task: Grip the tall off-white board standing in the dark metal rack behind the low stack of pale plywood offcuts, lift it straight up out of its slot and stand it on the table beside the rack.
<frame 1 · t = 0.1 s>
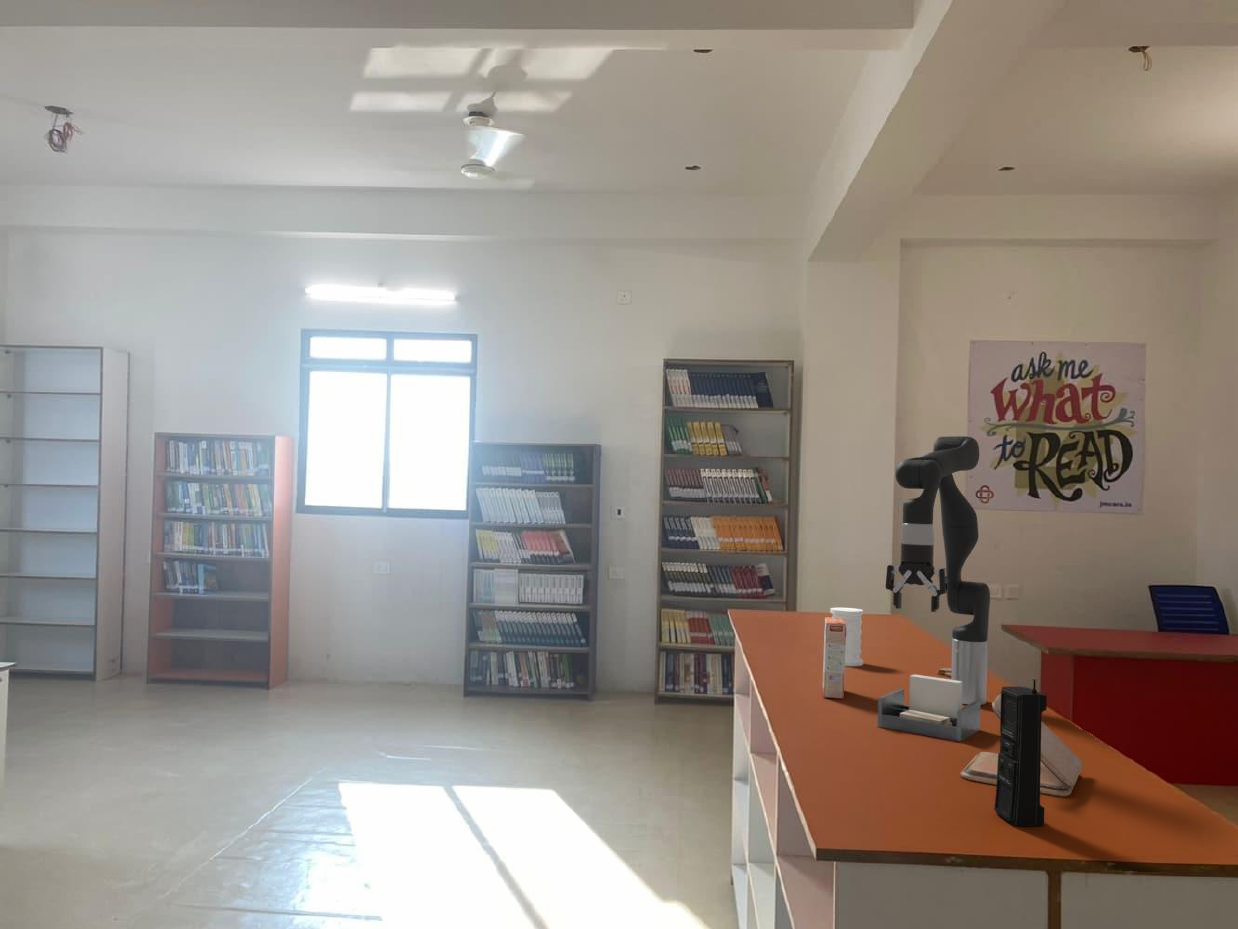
hand: (915, 610, 226), 29 cm above the counter, tool pointing down, fingers open, 8 cm apart
cracker box: (833, 694, 266), on the counter
portable radio: (1016, 820, 165), on the counter
case: (1021, 778, 191), on the counter
tall board: (934, 725, 233), resting in rack
rack: (934, 725, 233), on the counter
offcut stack: (925, 731, 227), resting in rack
decorative container: (845, 663, 317), on the counter
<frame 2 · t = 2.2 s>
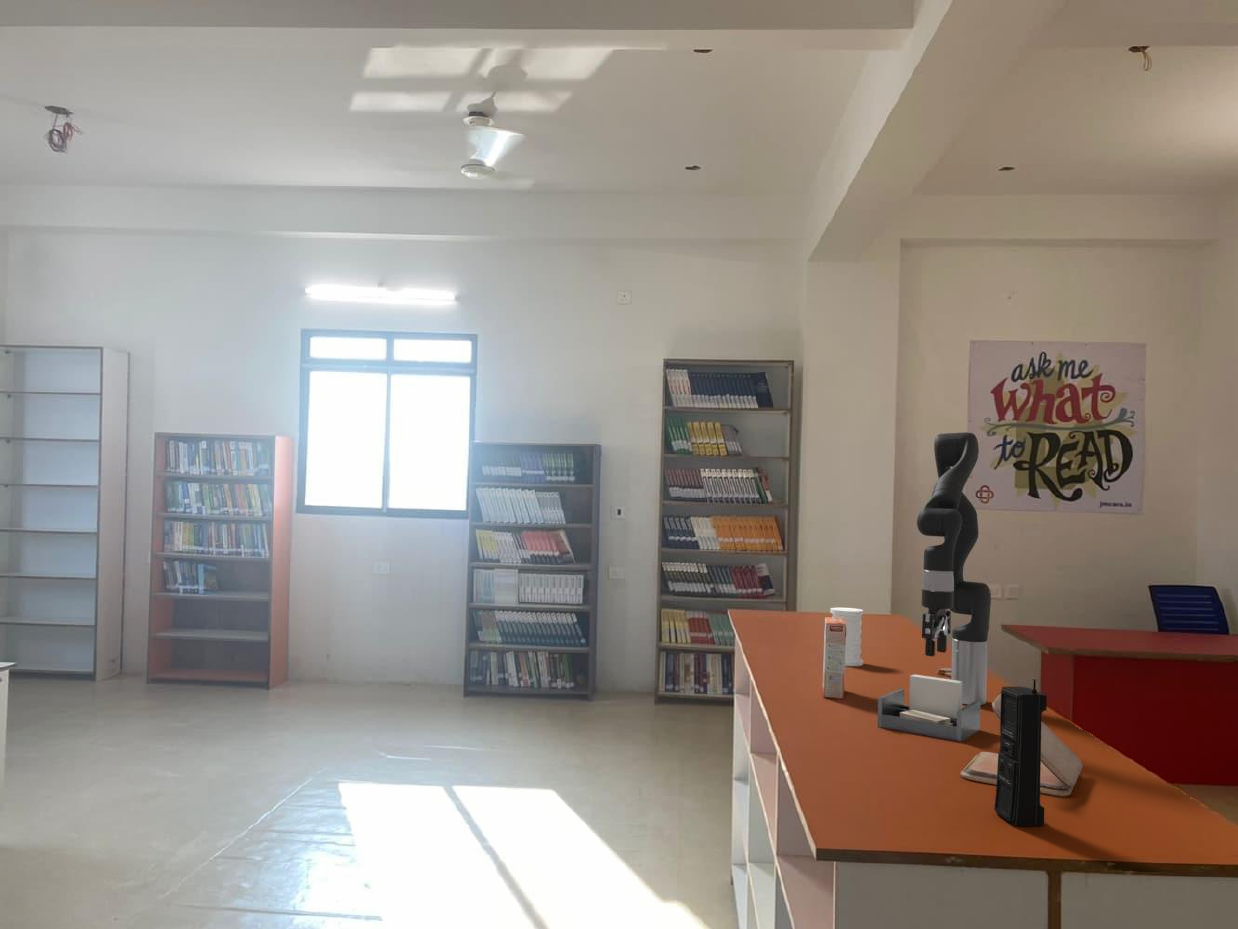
hand: (935, 654, 233), 17 cm above the counter, tool pointing down, fingers open, 8 cm apart
nothing on the counter moved.
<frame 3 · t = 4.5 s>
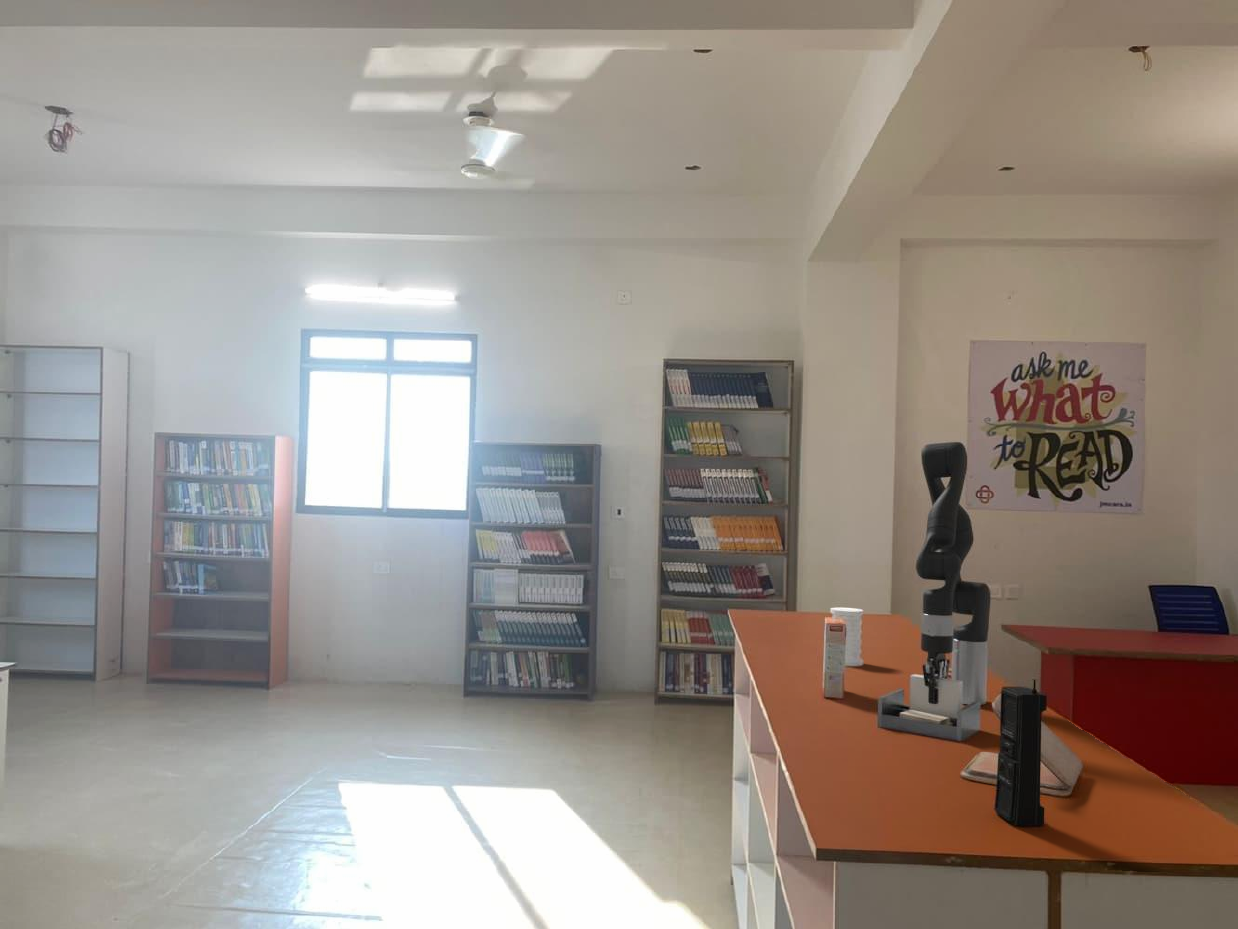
hand: (935, 702, 233), 6 cm above the counter, tool pointing down, fingers closed on tall board, 3 cm apart
tall board: (935, 725, 233), resting in rack, touching gripper
everything else where it was.
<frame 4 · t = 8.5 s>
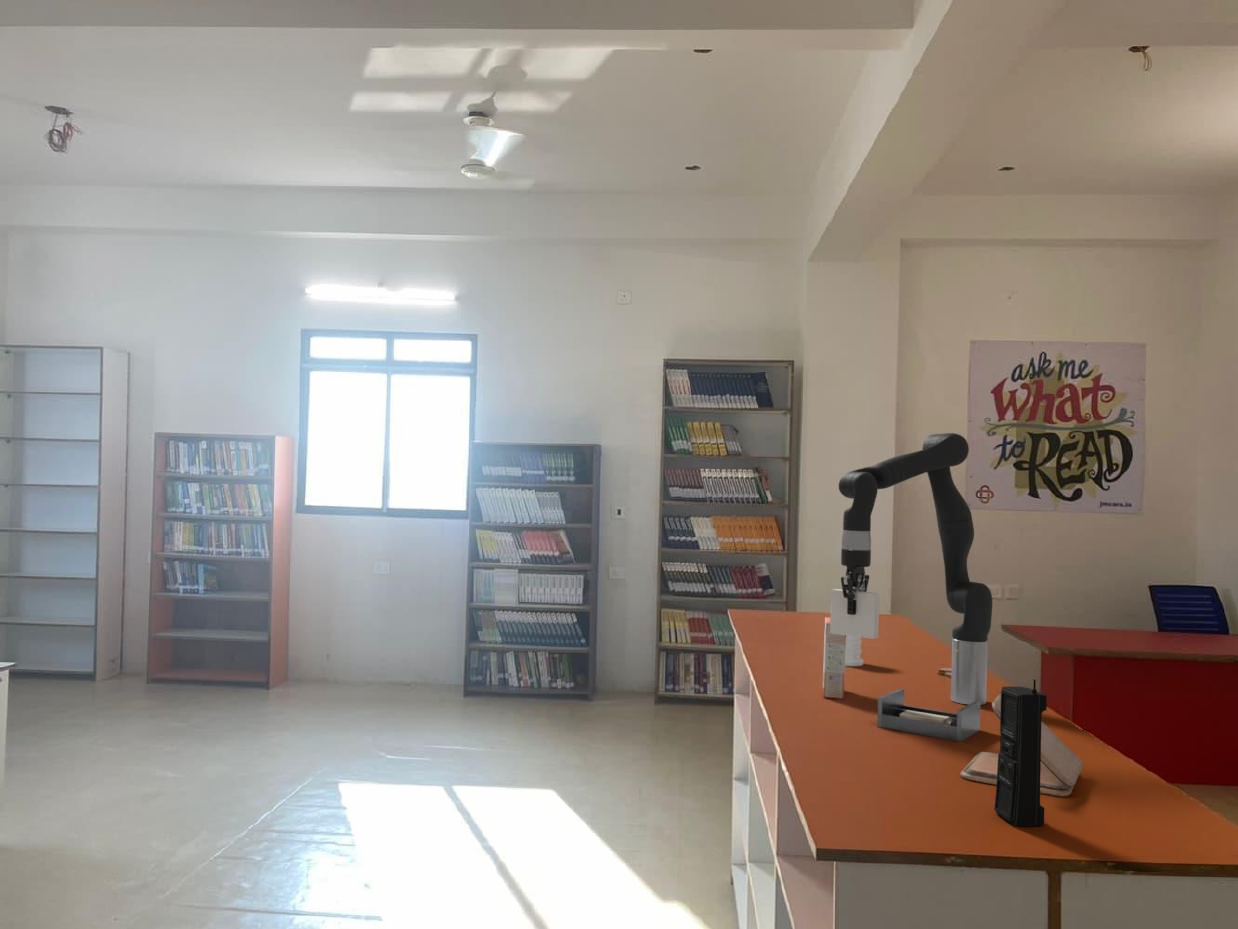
hand: (854, 613, 246), 25 cm above the counter, tool pointing down, fingers closed on tall board, 3 cm apart
tall board: (853, 635, 246), point 20 cm above the counter, touching gripper
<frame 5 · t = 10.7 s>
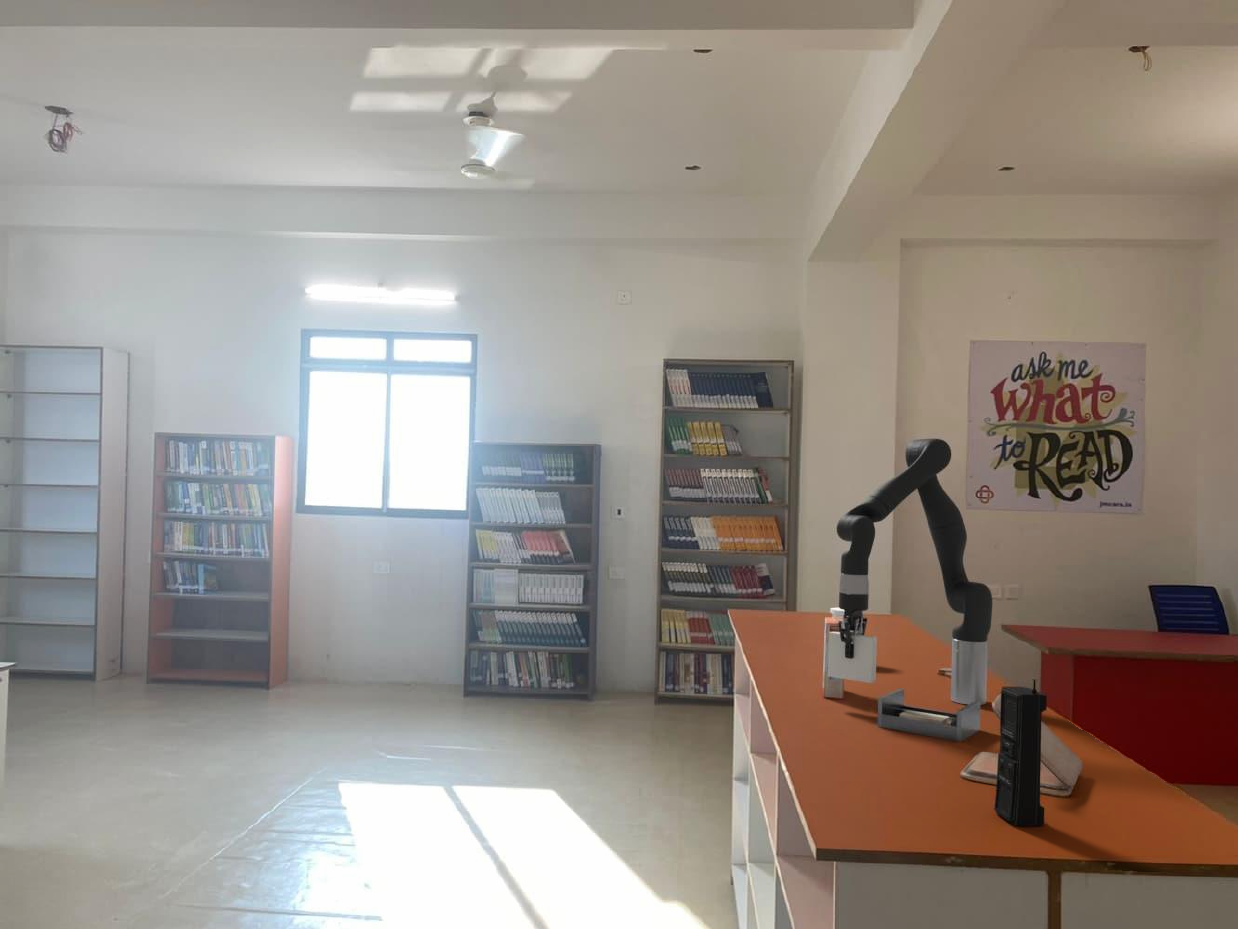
hand: (852, 657, 246), 14 cm above the counter, tool pointing down, fingers closed on tall board, 3 cm apart
tall board: (851, 678, 246), point 8 cm above the counter, touching gripper
everything else where it was.
when the fingers open (7 cm above the counter, at t = 12.8 s): tall board stays where it is, on the counter.
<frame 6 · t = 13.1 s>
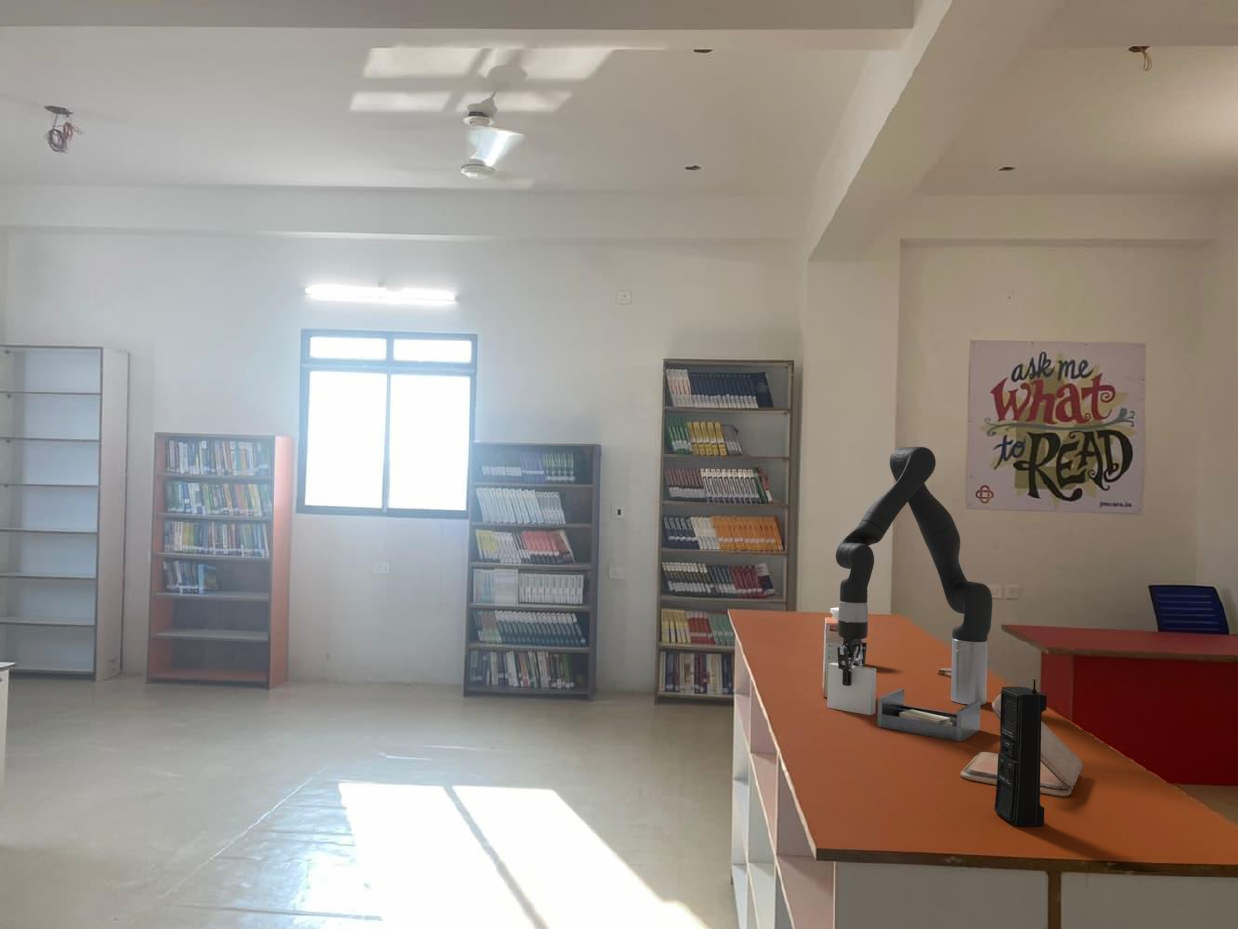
hand: (851, 683, 246), 7 cm above the counter, tool pointing down, fingers open, 5 cm apart
tall board: (850, 710, 246), on the counter
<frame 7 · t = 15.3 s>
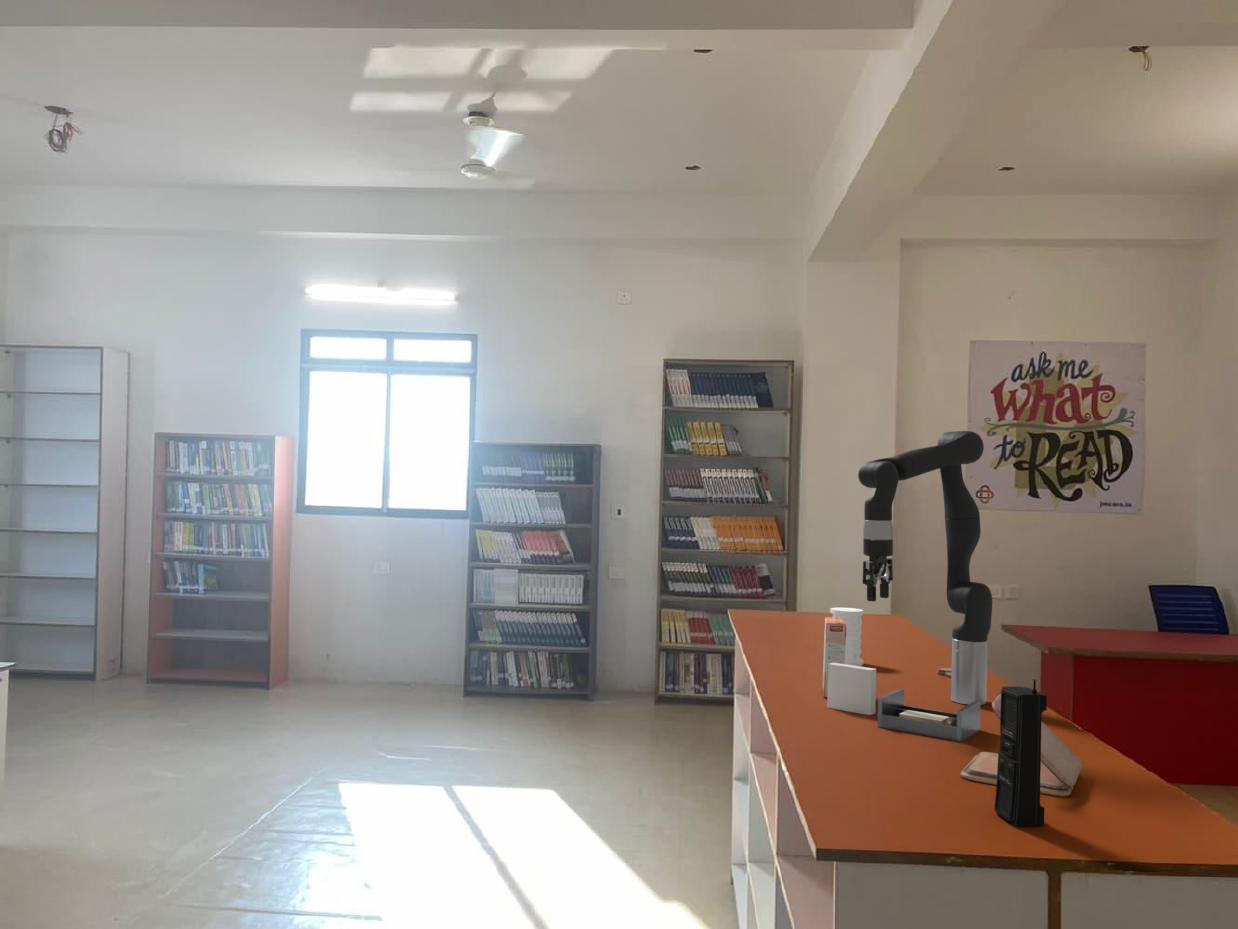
hand: (877, 599, 246), 29 cm above the counter, tool pointing down, fingers open, 8 cm apart
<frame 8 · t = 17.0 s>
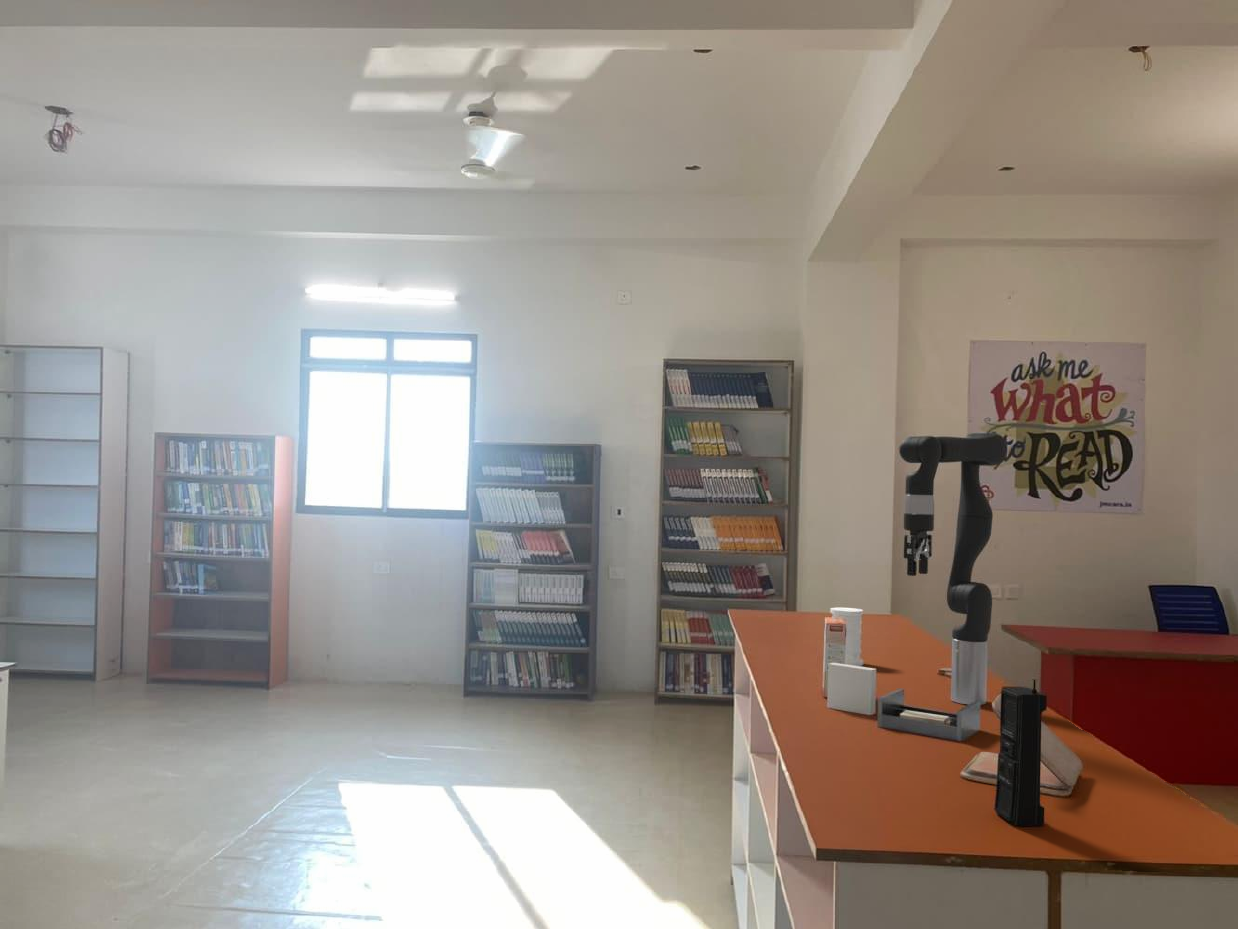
hand: (917, 574, 245), 36 cm above the counter, tool pointing down, fingers open, 8 cm apart
nothing on the counter moved.
at the end: tall board inside the target area (0.1 cm from its centre), on the counter; tall board tilted 0°; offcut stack moved 0.4 cm from its start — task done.
